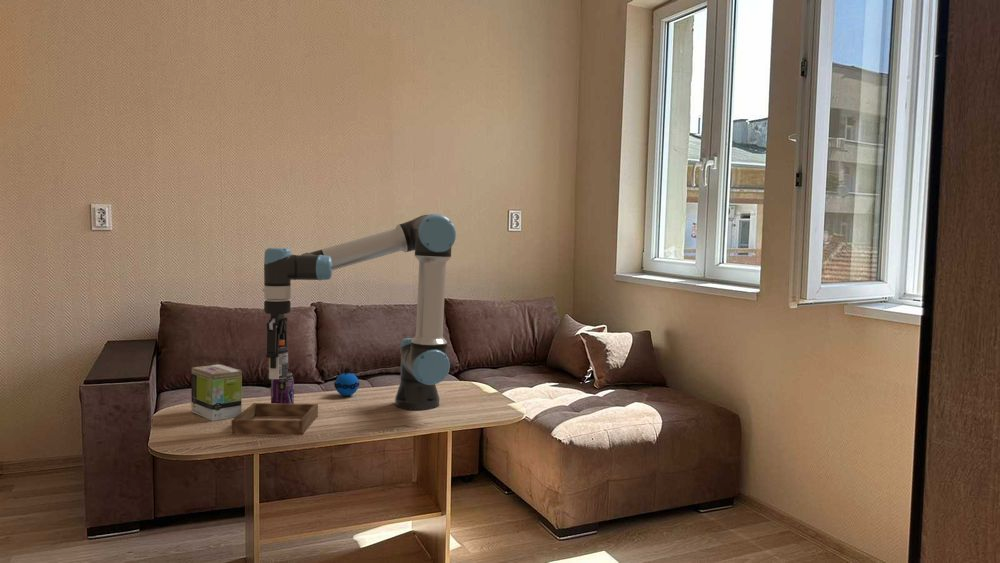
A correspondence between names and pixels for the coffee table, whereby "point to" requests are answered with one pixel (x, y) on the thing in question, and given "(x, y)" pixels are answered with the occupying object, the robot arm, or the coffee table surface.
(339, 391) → the ornament
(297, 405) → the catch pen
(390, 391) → the coffee table surface
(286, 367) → the pill bottle
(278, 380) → the beverage can
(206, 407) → the tea box
